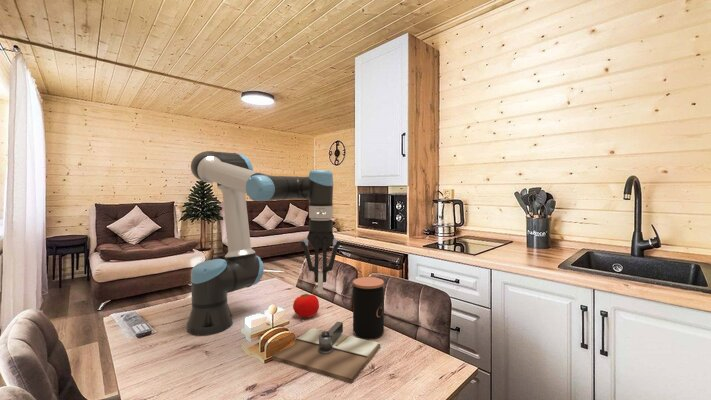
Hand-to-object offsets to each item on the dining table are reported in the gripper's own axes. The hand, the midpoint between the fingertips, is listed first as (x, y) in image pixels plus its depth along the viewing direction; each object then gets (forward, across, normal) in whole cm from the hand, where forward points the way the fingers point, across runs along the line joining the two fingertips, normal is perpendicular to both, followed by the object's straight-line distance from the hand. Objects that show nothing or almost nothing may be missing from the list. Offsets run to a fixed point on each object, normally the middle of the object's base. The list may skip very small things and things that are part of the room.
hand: (320, 292), depth 102 cm
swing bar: (+15, +4, -3) cm, 15 cm away
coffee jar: (+17, +17, +5) cm, 24 cm away
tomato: (+17, -5, +23) cm, 29 cm away
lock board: (+17, +2, -7) cm, 18 cm away
